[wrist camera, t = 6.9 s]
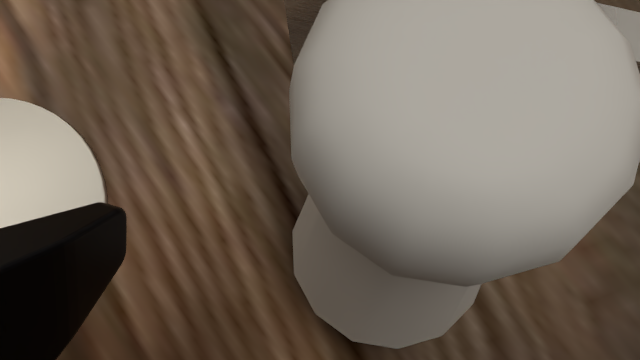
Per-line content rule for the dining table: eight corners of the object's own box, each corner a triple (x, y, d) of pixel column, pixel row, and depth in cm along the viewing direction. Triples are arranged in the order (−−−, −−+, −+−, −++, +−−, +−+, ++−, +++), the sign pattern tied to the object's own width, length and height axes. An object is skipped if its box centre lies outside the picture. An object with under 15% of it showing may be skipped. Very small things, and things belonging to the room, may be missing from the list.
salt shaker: (432, 162, 19) (616, -189, 7) (491, 317, 17) (896, 241, 5) (278, 206, 19) (163, -76, 6) (322, 369, 17) (287, 432, 4)
